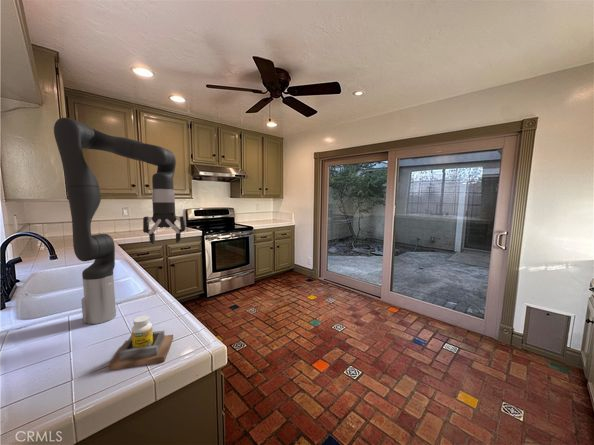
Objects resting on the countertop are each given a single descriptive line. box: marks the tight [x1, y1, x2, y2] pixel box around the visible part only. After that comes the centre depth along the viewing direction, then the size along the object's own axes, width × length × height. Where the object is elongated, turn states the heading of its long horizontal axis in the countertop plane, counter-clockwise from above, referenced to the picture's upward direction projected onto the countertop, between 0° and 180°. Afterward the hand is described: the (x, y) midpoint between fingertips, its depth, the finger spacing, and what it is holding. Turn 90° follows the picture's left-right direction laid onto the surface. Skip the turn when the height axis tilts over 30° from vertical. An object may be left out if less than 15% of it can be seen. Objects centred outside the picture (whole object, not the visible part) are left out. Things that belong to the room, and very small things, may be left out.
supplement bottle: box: [131, 315, 154, 348], centre depth 74 cm, size 5×5×10 cm
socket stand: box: [107, 330, 174, 371], centre depth 75 cm, size 14×12×4 cm
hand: (165, 243), depth 94 cm, fingers open, 8 cm apart
